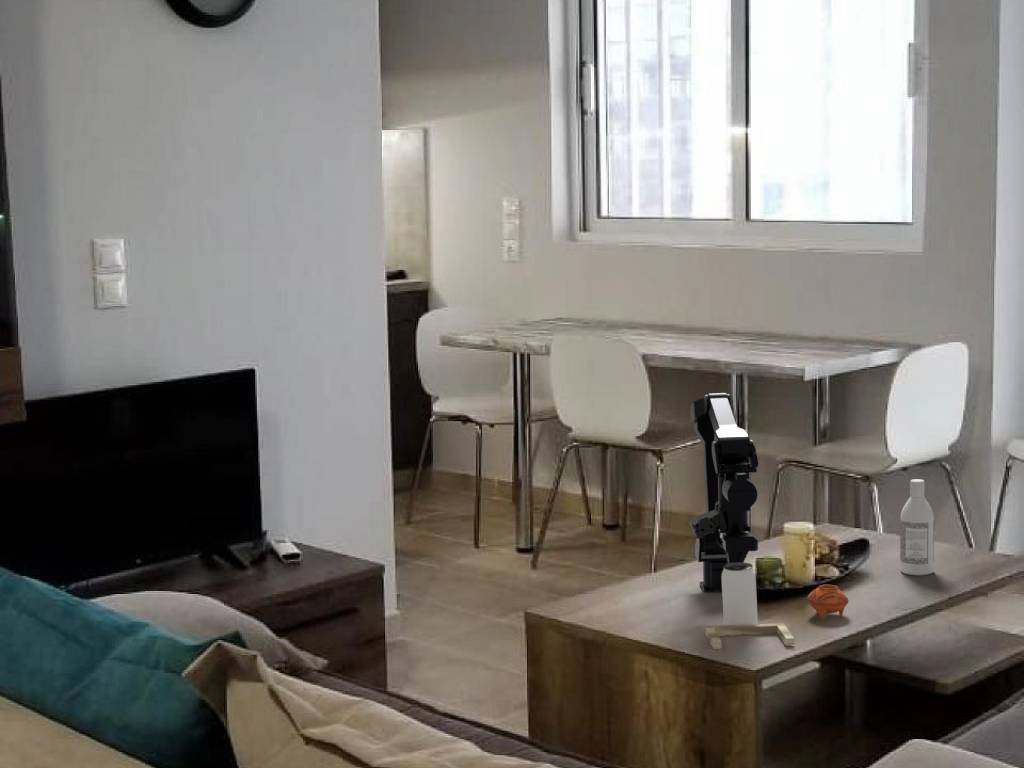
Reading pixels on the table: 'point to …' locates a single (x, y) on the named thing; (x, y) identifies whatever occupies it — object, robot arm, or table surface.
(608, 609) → the table surface
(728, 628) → the cradle
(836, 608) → the pot
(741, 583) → the can
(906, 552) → the bath foam
